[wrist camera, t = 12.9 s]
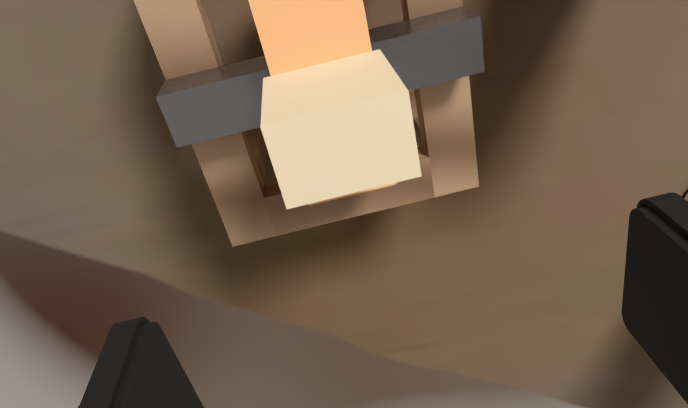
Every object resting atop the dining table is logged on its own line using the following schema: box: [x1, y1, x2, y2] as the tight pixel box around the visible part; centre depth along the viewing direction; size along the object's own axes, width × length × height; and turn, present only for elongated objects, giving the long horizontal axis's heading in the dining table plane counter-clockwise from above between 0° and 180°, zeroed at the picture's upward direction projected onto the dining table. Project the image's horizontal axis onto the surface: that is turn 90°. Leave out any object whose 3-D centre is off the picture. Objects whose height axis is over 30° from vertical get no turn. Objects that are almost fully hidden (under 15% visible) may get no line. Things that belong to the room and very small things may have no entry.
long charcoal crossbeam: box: [156, 6, 485, 148], centre depth 24 cm, size 2×14×2 cm, turn 102°
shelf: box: [134, 0, 479, 247], centre depth 30 cm, size 17×14×12 cm
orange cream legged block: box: [249, 0, 422, 209], centre depth 24 cm, size 9×5×17 cm, turn 12°
